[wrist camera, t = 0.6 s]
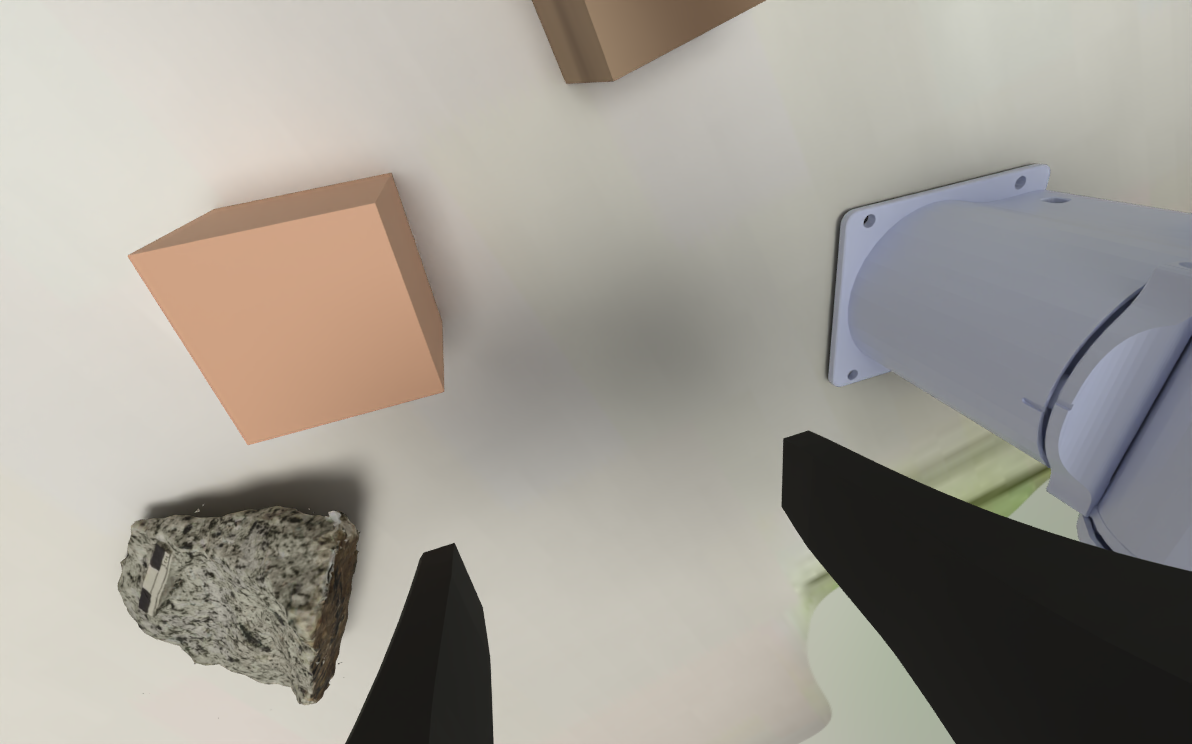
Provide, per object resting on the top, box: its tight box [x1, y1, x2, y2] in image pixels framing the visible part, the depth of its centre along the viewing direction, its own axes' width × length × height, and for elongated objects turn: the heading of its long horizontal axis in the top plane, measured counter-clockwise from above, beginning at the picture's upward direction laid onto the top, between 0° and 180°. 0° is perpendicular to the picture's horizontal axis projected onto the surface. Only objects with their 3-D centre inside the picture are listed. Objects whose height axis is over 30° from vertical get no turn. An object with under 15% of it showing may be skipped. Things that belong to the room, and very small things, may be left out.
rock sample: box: [118, 504, 360, 719], centre depth 19 cm, size 10×8×9 cm
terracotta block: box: [128, 173, 444, 445], centre depth 14 cm, size 5×5×5 cm
